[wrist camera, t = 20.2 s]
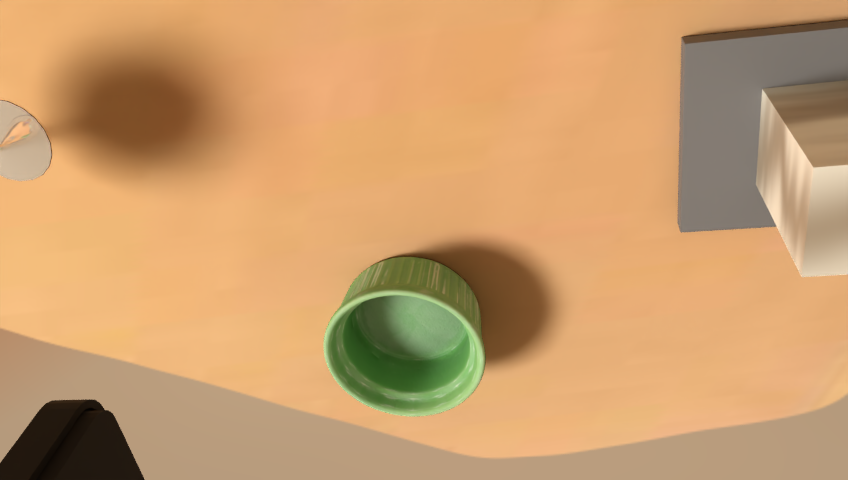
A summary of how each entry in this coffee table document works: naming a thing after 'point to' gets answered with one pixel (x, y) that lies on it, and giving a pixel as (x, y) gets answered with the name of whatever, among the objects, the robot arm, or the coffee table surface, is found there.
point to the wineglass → (22, 144)
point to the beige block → (807, 172)
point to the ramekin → (407, 338)
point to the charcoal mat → (741, 113)
